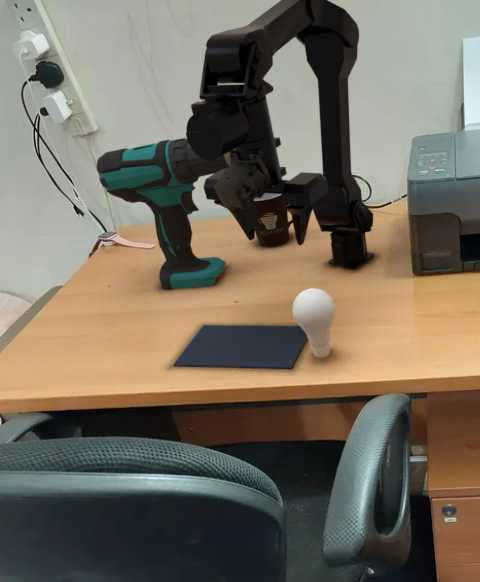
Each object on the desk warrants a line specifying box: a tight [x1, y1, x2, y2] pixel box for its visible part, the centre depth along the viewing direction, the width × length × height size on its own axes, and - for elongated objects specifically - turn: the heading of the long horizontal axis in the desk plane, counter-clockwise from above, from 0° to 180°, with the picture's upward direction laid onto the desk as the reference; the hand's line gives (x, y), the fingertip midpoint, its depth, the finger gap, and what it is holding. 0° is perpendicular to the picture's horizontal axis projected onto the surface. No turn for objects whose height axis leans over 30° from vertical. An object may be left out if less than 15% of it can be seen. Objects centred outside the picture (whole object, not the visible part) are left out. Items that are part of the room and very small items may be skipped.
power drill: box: [96, 137, 231, 291], centre depth 120 cm, size 26×9×25 cm, turn 84°
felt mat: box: [173, 324, 308, 370], centre depth 105 cm, size 20×12×1 cm, turn 77°
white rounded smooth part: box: [291, 287, 336, 359], centre depth 96 cm, size 6×6×11 cm
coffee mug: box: [252, 186, 293, 248], centre depth 134 cm, size 12×9×10 cm
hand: (276, 241), depth 103 cm, fingers open, 9 cm apart
